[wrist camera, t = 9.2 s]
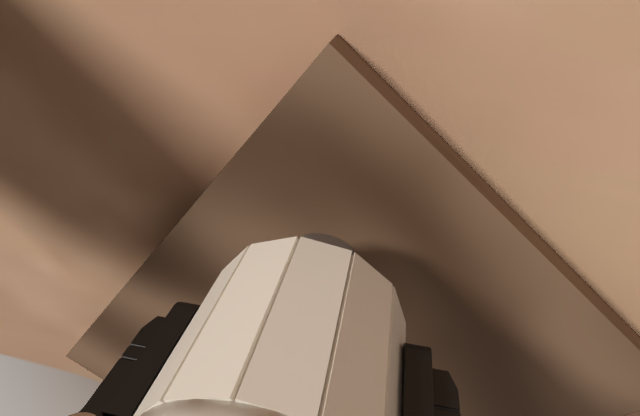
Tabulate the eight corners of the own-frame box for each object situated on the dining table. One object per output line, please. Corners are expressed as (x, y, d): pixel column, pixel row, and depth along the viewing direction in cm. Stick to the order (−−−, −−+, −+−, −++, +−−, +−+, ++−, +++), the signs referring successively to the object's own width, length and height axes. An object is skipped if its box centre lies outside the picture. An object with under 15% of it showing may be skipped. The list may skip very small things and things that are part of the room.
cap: (317, 394, 15) (270, 609, 10) (188, 302, 14) (60, 498, 9) (444, 328, 12) (466, 588, 7) (295, 201, 11) (191, 413, 6)
